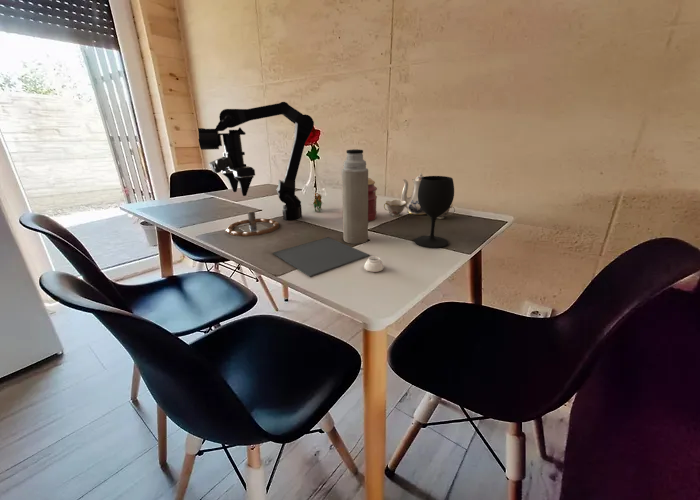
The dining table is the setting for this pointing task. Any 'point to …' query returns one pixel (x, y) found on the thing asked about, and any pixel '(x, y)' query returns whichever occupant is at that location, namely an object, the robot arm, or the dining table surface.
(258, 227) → the metal peg stand
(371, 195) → the kitchen canister
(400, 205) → the chinaware
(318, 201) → the figurine
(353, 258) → the mat
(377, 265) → the white jar
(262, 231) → the ring
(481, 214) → the dining table surface
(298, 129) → the robot arm
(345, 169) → the thermos bottle
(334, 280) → the dining table surface
